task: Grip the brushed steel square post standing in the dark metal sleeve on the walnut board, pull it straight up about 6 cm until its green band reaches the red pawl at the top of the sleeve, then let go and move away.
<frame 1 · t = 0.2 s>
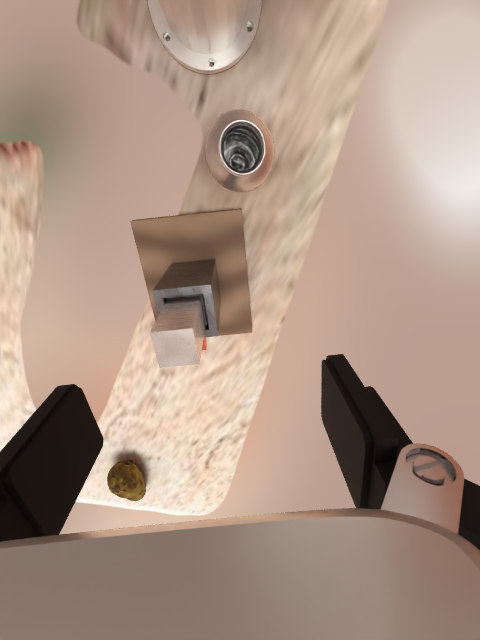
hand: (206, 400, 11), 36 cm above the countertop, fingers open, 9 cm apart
steel post: (188, 307, 36), point 12 cm above the countertop, slide at 0.0 cm
stand: (198, 279, 47), on the countertop
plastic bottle: (237, 162, 40), on the countertop
potato: (133, 466, 66), on the countertop
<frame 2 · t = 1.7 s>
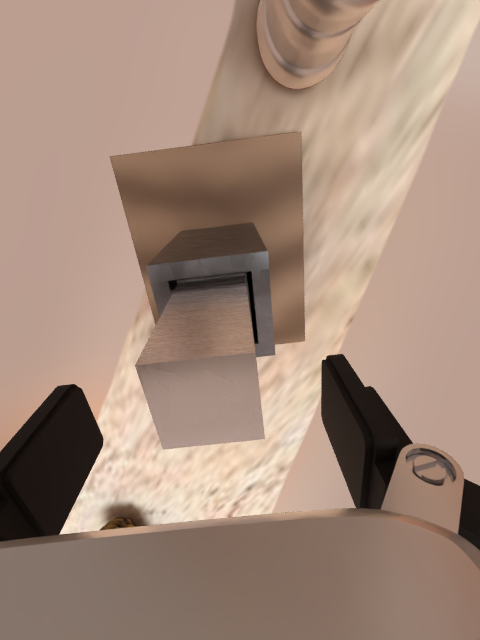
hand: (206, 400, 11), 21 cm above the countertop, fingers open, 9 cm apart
steel post: (217, 301, 19), point 12 cm above the countertop, slide at 0.0 cm
stand: (222, 258, 29), on the countertop
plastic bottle: (295, 44, 22), on the countertop
potato: (130, 521, 49), on the countertop
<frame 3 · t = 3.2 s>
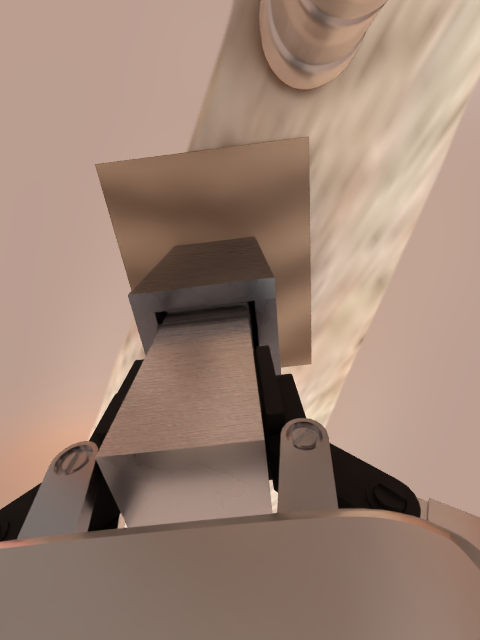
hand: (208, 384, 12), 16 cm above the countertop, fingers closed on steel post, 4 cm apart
steel post: (214, 332, 16), point 12 cm above the countertop, slide at 0.0 cm, touching gripper
stand: (220, 275, 27), on the countertop
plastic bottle: (301, 40, 20), on the countertop
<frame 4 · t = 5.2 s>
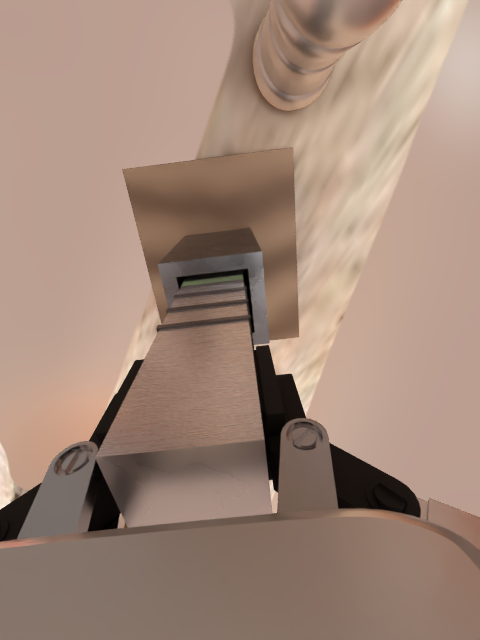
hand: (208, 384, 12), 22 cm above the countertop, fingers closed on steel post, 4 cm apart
steel post: (214, 332, 16), point 17 cm above the countertop, slide at 5.9 cm, touching gripper
stand: (222, 260, 32), on the countertop
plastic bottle: (286, 71, 25), on the countertop
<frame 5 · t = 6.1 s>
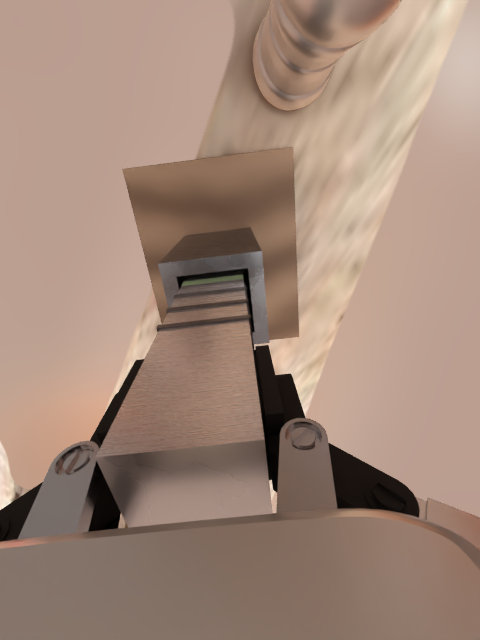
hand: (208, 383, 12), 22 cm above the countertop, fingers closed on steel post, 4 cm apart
steel post: (214, 332, 16), point 17 cm above the countertop, slide at 5.9 cm, touching gripper
stand: (222, 260, 32), on the countertop
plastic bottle: (286, 71, 25), on the countertop
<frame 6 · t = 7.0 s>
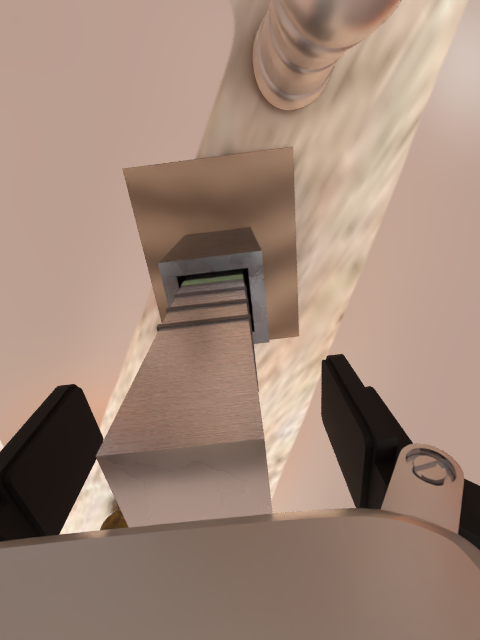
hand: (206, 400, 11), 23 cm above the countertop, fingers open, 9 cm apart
steel post: (214, 331, 16), point 18 cm above the countertop, slide at 6.0 cm
stand: (222, 260, 32), on the countertop
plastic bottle: (286, 71, 26), on the countertop
potato: (134, 512, 51), on the countertop
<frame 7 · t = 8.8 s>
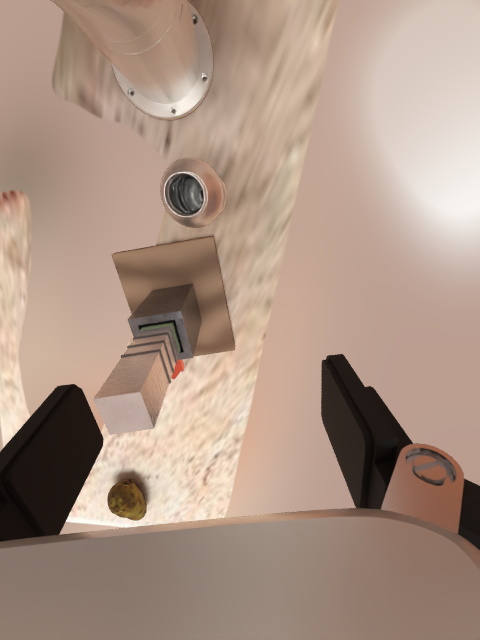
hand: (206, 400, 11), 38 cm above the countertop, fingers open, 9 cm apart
steel post: (153, 355, 33), point 18 cm above the countertop, slide at 6.0 cm
stand: (179, 302, 49), on the countertop
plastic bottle: (205, 194, 43), on the countertop
potato: (133, 485, 68), on the countertop
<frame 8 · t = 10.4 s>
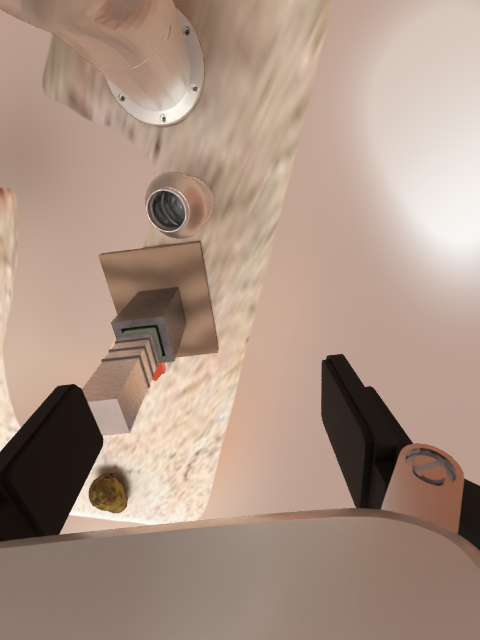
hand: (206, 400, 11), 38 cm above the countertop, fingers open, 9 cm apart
steel post: (134, 359, 34), point 18 cm above the countertop, slide at 6.0 cm
stand: (165, 304, 50), on the countertop
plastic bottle: (193, 201, 44), on the countertop
potato: (115, 479, 69), on the countertop
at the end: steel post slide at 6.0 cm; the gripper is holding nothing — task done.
